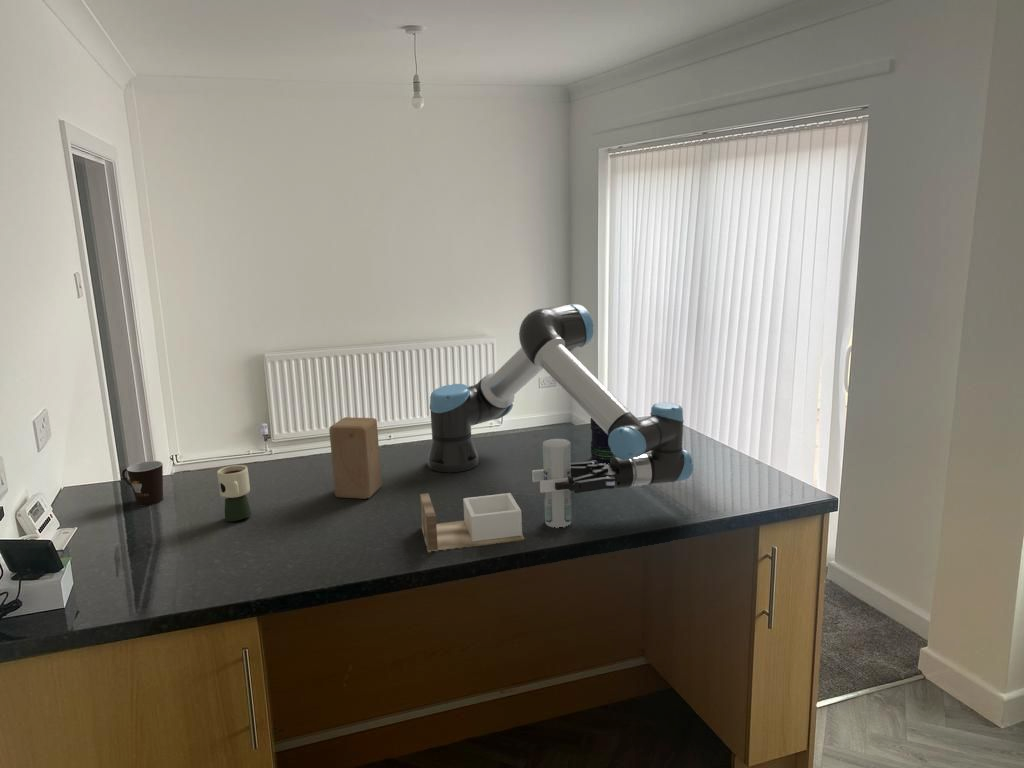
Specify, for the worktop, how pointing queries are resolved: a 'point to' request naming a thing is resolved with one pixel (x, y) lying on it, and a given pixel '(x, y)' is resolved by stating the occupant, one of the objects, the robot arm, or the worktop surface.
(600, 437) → the storage jar
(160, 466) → the coffee mug
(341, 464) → the wooden block
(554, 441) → the spray can
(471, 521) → the sleeve
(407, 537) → the worktop surface
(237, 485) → the character mug
